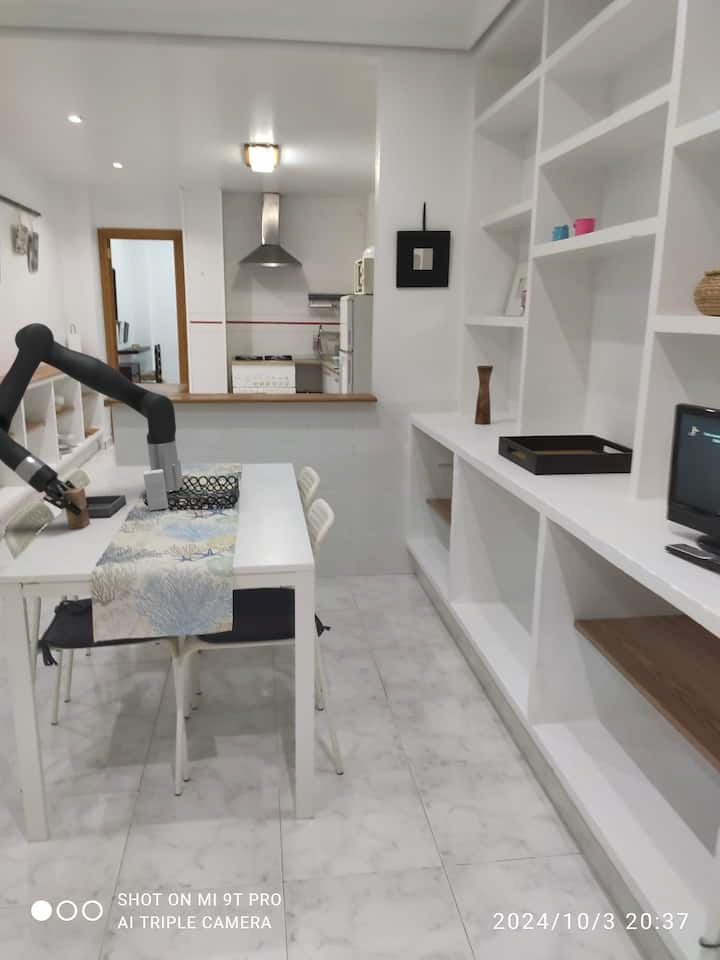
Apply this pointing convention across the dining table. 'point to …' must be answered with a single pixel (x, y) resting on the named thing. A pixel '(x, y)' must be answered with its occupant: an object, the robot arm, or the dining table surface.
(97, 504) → the tray
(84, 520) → the block
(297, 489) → the dining table surface
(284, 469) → the dining table surface
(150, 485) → the skincare box
